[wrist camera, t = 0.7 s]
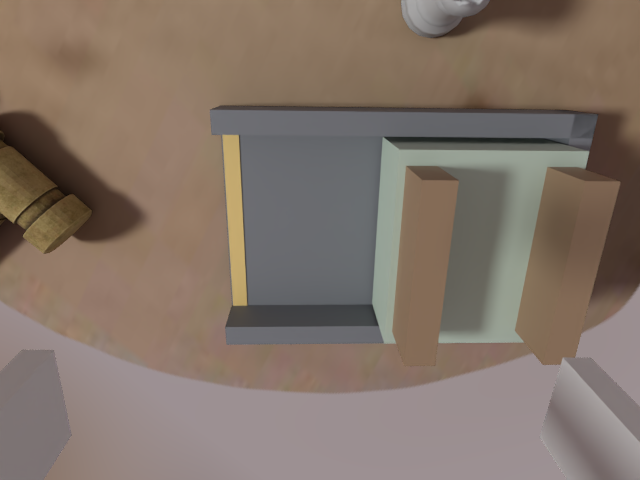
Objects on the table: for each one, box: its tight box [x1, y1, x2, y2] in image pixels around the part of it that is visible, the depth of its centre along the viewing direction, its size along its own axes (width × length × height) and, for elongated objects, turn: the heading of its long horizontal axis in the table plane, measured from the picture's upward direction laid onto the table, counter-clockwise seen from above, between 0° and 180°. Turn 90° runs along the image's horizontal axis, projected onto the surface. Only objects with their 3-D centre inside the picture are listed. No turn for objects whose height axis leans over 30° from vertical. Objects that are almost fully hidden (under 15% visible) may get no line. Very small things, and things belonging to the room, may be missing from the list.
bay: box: [210, 106, 598, 345], centre depth 34 cm, size 18×26×4 cm
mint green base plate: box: [372, 137, 621, 366], centre depth 31 cm, size 14×12×10 cm
